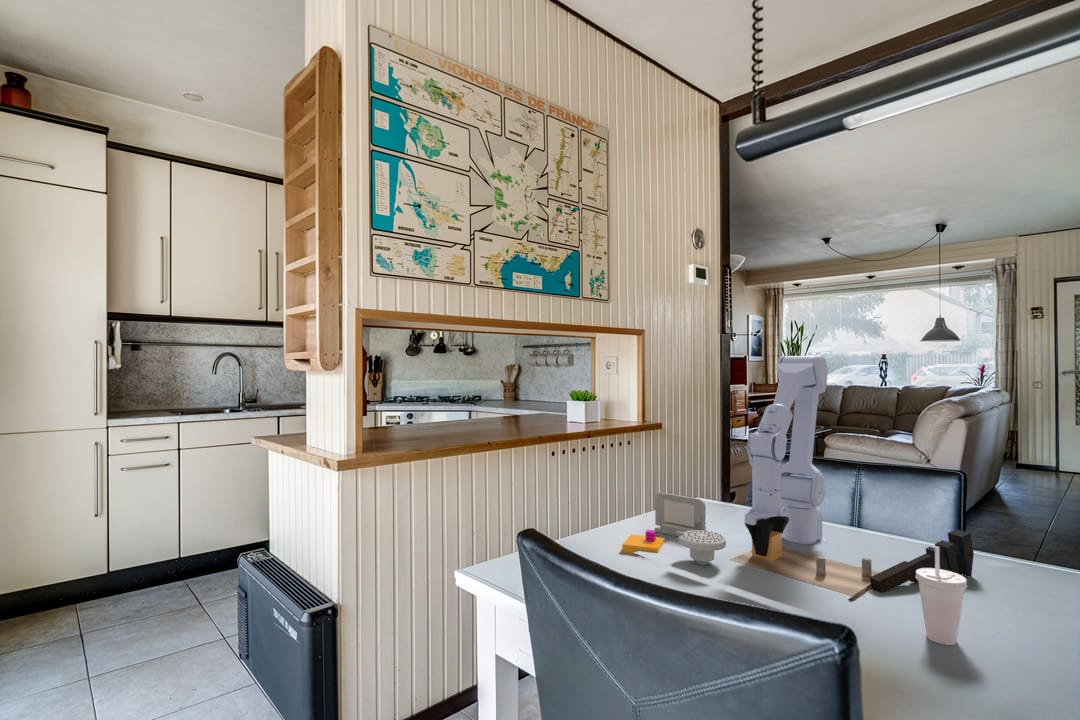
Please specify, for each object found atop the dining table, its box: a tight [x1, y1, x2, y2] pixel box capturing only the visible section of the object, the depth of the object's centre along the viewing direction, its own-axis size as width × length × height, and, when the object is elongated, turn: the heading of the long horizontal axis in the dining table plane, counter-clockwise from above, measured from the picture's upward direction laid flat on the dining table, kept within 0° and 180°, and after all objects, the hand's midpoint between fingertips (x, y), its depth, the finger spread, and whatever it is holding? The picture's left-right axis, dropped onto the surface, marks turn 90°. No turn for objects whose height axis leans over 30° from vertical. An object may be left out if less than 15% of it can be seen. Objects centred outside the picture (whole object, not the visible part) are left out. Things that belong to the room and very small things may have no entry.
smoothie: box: [916, 545, 968, 646], centre depth 84 cm, size 6×6×14 cm
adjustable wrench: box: [870, 529, 975, 594], centre depth 106 cm, size 8×3×25 cm
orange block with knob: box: [621, 529, 665, 555], centre depth 126 cm, size 8×8×4 cm
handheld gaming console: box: [653, 492, 707, 538], centre depth 138 cm, size 13×9×10 cm
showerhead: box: [676, 529, 727, 565], centre depth 114 cm, size 9×7×10 cm
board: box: [729, 546, 880, 602], centre depth 112 cm, size 16×24×4 cm, turn 40°
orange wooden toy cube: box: [751, 531, 783, 561], centre depth 118 cm, size 4×4×5 cm
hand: (767, 552), depth 118 cm, fingers closed on orange wooden toy cube, 4 cm apart
